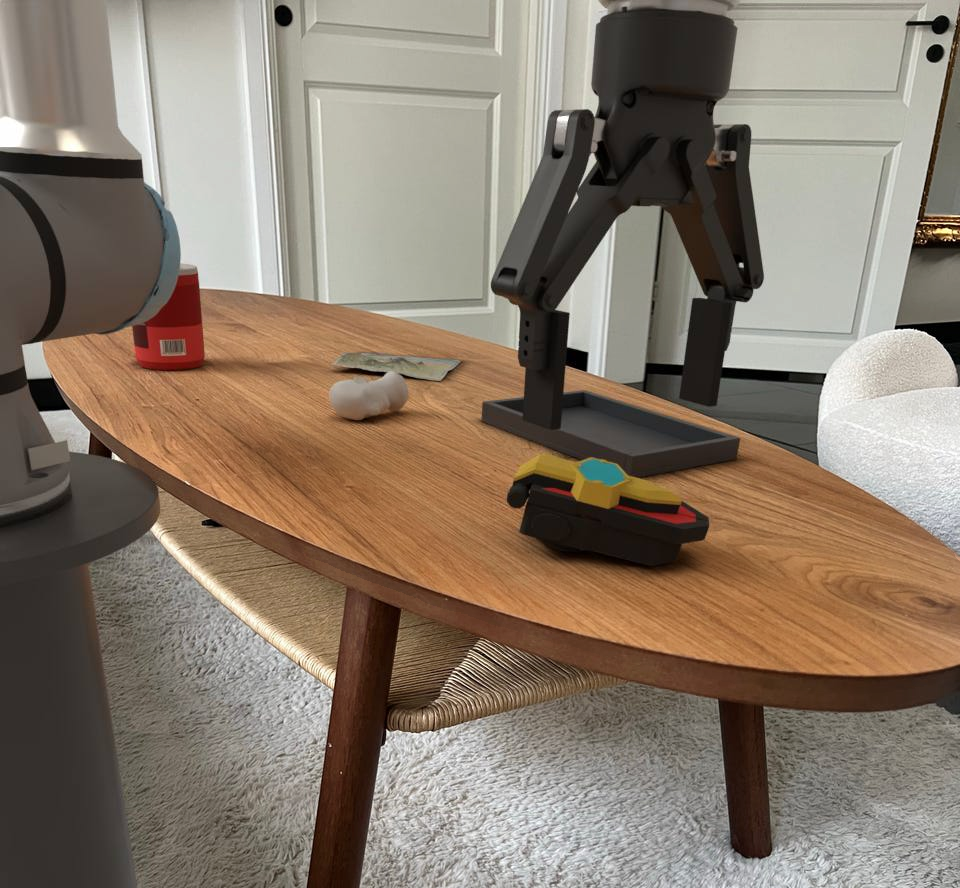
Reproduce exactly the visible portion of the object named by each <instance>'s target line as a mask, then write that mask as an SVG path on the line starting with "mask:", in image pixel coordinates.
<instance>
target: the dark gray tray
mask: <svg viewBox="0 0 960 888" xmlns="http://www.w3.org/2000/svg"><path fill="white" fill-rule="evenodd" d="M523 402H524V396H519V397H512V398H503V399H493V400H484V401H482V403H481V422H482V423H485V424H488V425H490V426H492V427H495V428H497V429H500V430H503V431H505V432H508V433H510V434H512V435H516V436H518V437H520V438H523V439H526V440H529V441H531V442H534V443H536V444H539V445H541V446H543V447H547V448H549V449H552V450H554V451H557V452H559V453H562V454H564V455H567V456H570V457H572V458H575V459H578V460H579V461H582V460H584V459H587V458H590V457H593V458H597V459H603V460H606V461H608V462H612V463H616V464H618V465H619V466H620V467H621V468H622V469H623V471H624V472H625V473H626V474H627V475H628V476H632V477H636V478H645V477H648V476H654V475H660V474H666V473H671V472H675V471H676V472H677V471H682V470H686V469H691V468H697V467H702V466H707V465H712V464H713V465H714V464H718V463H723V462H729V461H734V460H737V459H738V454H739V448H740V442H741V437H738V436H735V435H732V434H729V433H726V432H722V431H719V430H717V429H714V428H713V429H712V428H709V427H706V426H702V425H699V424H697V423H693V422H690V421H686V420H683V419H680V418H677V417H673V416H670V415H667V414H663V413H660V412H658V411H654V410H651V409H647V408H644V407H641V406H638V405H635V404H631V403H628V402H625V401H621V400H618V399H614V398H611V397H608V396H605V395H602V394H599V393H595V392H593V391H588V390H585V389H580V390H571V391H564V392H563V405H562V418H561V429H555V430H549V429H546V428H543V427H541V426H538V425H535V424H532V423H529V422H526V421H524V420H522V419H523Z"/></svg>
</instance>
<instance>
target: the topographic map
mask: <svg viewBox="0 0 960 888" xmlns="http://www.w3.org/2000/svg"><path fill="white" fill-rule="evenodd" d="M461 362H462V360H458V359H445V358H444V359H443V358H434V357H433V358H432V357H419V356H407V355H394V354H393V355H392V354H383V353H382V354H381V353H370V352H369V353H367V352H361V353H359V354H358V353H352V352H346V351H345V352H343V353H342V354H341V355H340V356H339V357H338V358H337V359H336V360H335V361H334V362H333V363H331V364H330V366H338V367H344V368H351V369H355V368H356V369H361V370H365V371H370V372H383V373H387V372H389V371H393V372H395V373H397V374H399V375H404V376H407V377H412V378H416V379H422V380H427V381H438V382H441V381H442V380H443V379H444V378H445V377H446V375H447V374H448V372H449V371H452V370H454V369H455V368H456V367H457V366H458V365H459V364H460V363H461Z"/></svg>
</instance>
